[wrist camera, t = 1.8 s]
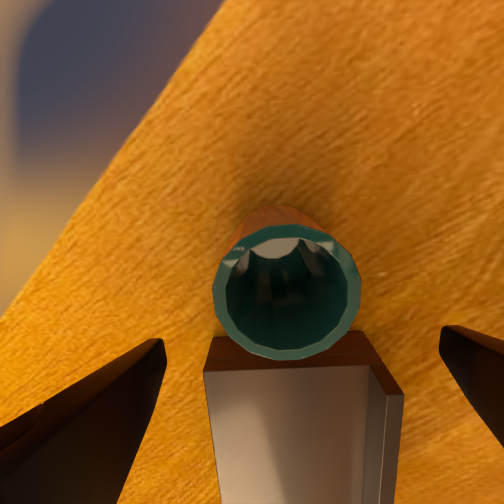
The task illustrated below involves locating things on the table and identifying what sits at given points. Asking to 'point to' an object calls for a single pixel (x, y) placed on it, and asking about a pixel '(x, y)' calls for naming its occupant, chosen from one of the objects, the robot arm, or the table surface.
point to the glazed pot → (285, 285)
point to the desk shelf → (304, 424)
